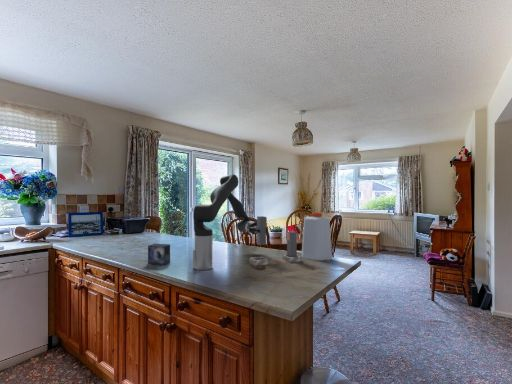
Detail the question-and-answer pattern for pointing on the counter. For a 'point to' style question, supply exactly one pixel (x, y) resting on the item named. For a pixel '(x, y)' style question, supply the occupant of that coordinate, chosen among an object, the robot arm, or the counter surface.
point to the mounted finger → (291, 244)
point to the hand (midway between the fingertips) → (263, 230)
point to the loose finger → (261, 230)
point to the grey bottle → (316, 238)
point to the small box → (159, 254)
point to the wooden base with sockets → (272, 261)
